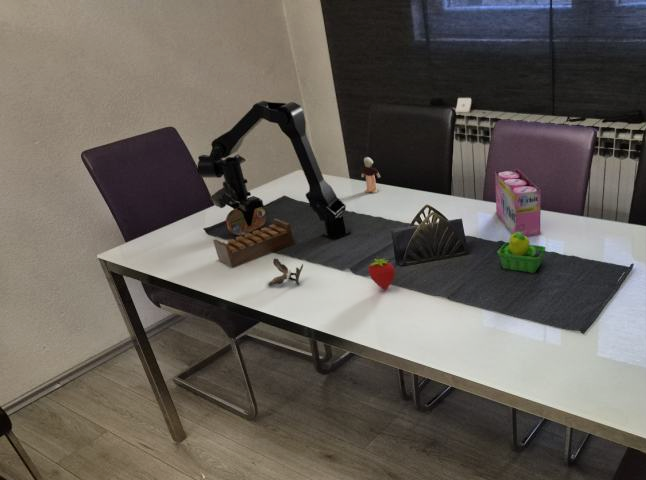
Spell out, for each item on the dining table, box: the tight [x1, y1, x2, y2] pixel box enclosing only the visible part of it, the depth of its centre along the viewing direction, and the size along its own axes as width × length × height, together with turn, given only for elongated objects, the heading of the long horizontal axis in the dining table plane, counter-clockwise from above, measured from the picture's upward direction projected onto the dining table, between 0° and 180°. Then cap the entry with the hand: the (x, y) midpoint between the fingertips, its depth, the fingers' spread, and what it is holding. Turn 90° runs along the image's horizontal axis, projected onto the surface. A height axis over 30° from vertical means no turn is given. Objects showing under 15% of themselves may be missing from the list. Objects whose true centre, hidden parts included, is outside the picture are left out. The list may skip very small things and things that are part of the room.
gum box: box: [494, 168, 542, 237], centre depth 184 cm, size 24×8×14 cm, turn 13°
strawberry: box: [368, 257, 396, 291], centre depth 152 cm, size 6×8×10 cm
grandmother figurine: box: [360, 156, 381, 194], centre depth 219 cm, size 8×4×13 cm, turn 80°
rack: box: [212, 218, 295, 269], centre depth 180 cm, size 8×21×6 cm, turn 135°
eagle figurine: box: [268, 258, 304, 287], centre depth 161 cm, size 8×7×9 cm
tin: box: [225, 205, 268, 237], centre depth 195 cm, size 15×3×8 cm, turn 147°
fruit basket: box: [496, 232, 547, 274], centre depth 157 cm, size 11×9×11 cm
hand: (247, 224), depth 195 cm, fingers closed on tin, 3 cm apart
